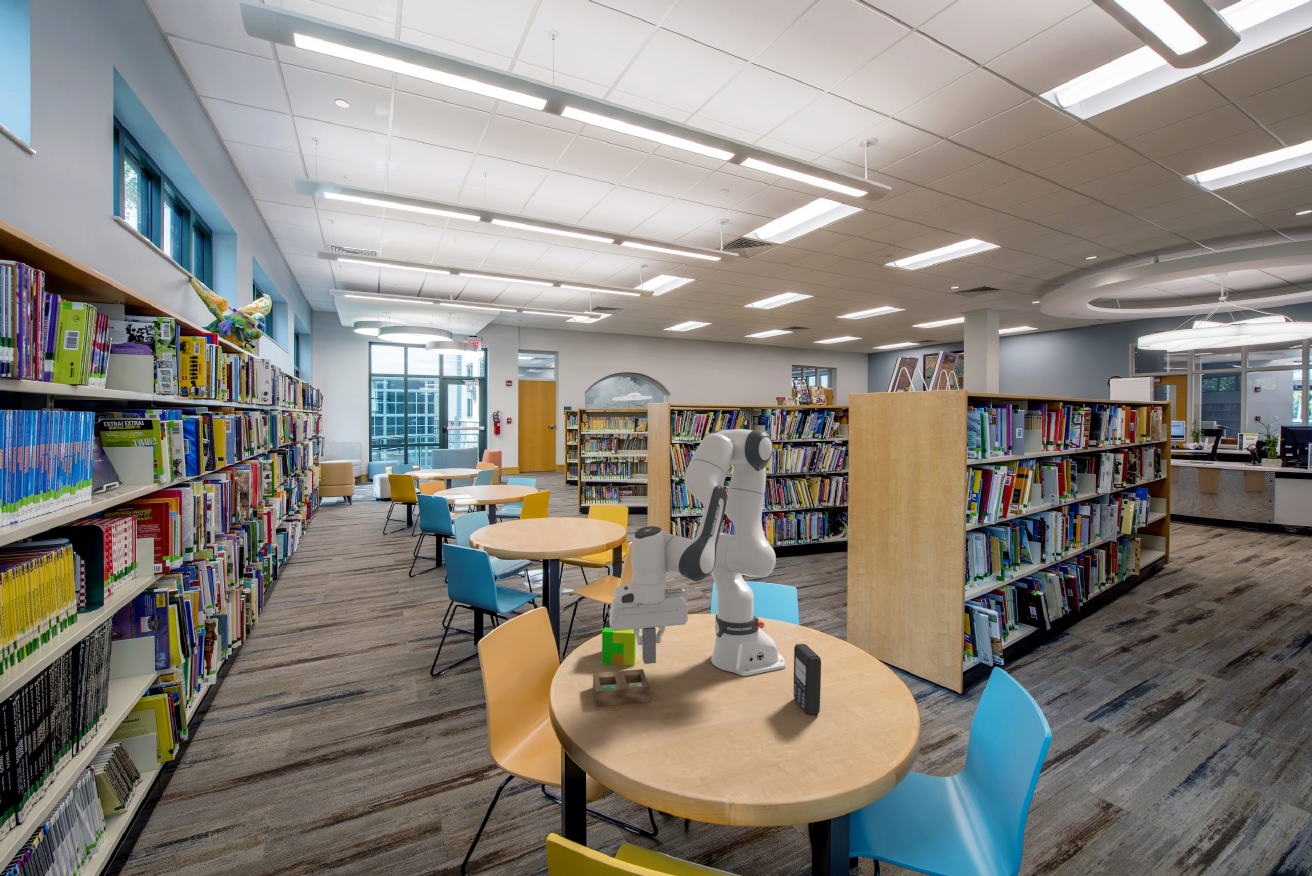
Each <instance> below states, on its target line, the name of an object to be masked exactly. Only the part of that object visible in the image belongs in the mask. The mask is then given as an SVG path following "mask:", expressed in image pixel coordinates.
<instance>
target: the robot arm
mask: <svg viewBox="0 0 1312 876" xmlns="http://www.w3.org/2000/svg"><path fill="white" fill-rule="evenodd" d="M773 445H774V444H773V440H772V438H771V437H770V435H769V433H767V432H765V431H762V430H759V429H758V430H757V429H752V430H751V429H744V428H736V429H716V430H713V431H711V432H710V433H709V434H707V435H706V436H705V437H703V439H702V441H701V442H700V444H699V445H698V446H697V448H696V449H695V451H694V453H693V455H692V457H691V459H690V462H689V464H688V466H687V468H686V471H685V474H684V484H685V487H686V489H687V491H688V492H689V493H690V494H691V495H692V496H693V497H694V498H696V500H698V501H700V503H702V505H703V513H702V516H701V520H700V524H699V527H698V532H697V534H696V535H695V537H694V538H693V539H692V538H687V537H683V536H679V535H676V534H671V533H669V532H666V531H664V530H663V529H662V528H661V527H659V526H654V525H653V526H652V525H650V526H644V527H640V528H639V529H637V530H635V532H634V533H633V536H632V541H631V547H630V548H631V549H630V565H631V568H632V573H631V578H630V582H627V583H625V584H623V585H621V586H617V587H616V588H614V590H613V596H614V599H613V600H612V602H611V604H610V609H609V621H610V627H611V629H612V630H613V631H620V630H631V629H633V631H634V633H635V635H636V637H637V643H638V645H639V646H642V645H643V644H644V637H643V636H642V635H640V630H642V628H653V627H655V628H658V631H657V632H656V644H661V643H662V642H661V641H662V639H661V638H662V636H663V634H664V632H665V631H666V627H670V626H671V627H673V626H674V627H675V626H683V625H686V624H687V622H688V620H689V619H688V618H689V617H688V609H687V603H688V600H689V599H688V592H687V591H686V590H685V589H683V588H681V587H678V588H667V589H666V586H667V585H666V581H667V580H666V573H667V572H669V573H672V574H675V575H679V576H682V577H684V578H687V579H688V580H691V581H692V582H701V581H702V580H704V579H706V578H707V577H708V576H710V574H711V577H712V578H713V582H714V585H715V590H716V614H715V620H714V633H715V638H714V639H715V640H714V646H713V652H712V654H711V657H710V662H711V663H712V665H714V666H715V667H716V668H717V669H720V670H723V671H726V672H730V673H734V674H737V675H740V676H742V677H747V676H753V675H757V674H762V673H767V672H773V671H777V670H783V669H785V668H786V660H785V658H784V657H783V655H782V654H780V653H779V652H778V647H777V644H776V642H775V641H774V640H773V638H772V637H771V636H770V635H768V634H767V632H764V631H763V630H762V629H763V628H765V626H766V624H765V622H764V621H763V620H762V619H759V617H757V616H755V615H754V602H755V601H754V600H755V599H754V597H755V595H754V592H753V590H752V588H751V587H750V586H749V584H747V582H746V581H745V580H744V577H743V576H746V577H751V578H753V577H754V578H765V577H768V576H770V574H771V573H772V572H773V571H774V569H775V567H776V561H777V557H776V556H777V555H776V552H775V550H774V547H772V546H771V544H770V543H769V541H768V540H767V538H766V536H765V533H764V529H763V528H764V527H763V523H762V522H763V519H762V517H763V507H764V500H765V494H766V493H765V492H766V485H767V482H766V481H767V471H766V470H767V468H766V466H767V464H768V463H769V461H771V458H772V456H773V452H774V446H773ZM730 466H732V467H733V471H732V474H731V478H730V482H729V485H728V486H729V487H728V491H726V489H724V486H725V480H726V478H727V475H728V472H729V469H730ZM727 492H728V493H727ZM725 515H726V517H727V518H728V520H729V521H730V522H732V524H733V526H734V530H735V531H734V532H735V535H734V534H730V533H726V532H721V530H722V526H723V522H724V519H725V518H724V517H725ZM742 575H743V576H742ZM638 633H639V634H638Z"/></svg>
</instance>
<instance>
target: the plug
mask: <svg viewBox="0 0 1312 876" xmlns="http://www.w3.org/2000/svg"><path fill="white" fill-rule="evenodd" d="M656 628H657V627H653V628H642V629H641V633H642V634H641V636H643V637H644V644H643V645H641V646H642V647H641V649H642V657H641V658H642V662H643V664H644V665H648V664H651V665H652V664H656V663H657V643H656V634H657V632H656V630H657V629H656Z"/></svg>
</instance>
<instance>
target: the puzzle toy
mask: <svg viewBox="0 0 1312 876" xmlns="http://www.w3.org/2000/svg"><path fill="white" fill-rule="evenodd" d="M609 619H610V618H609ZM609 619H607V622H606V623H605V625H604V627H603V629H602V632H601V665H613V666H614V665H615V666H629V667H631V666H633V667H635V665H636V662H637V658H638V656H639V652H640V645H638V643H637V637H636V635H635V633H634V631H633V629H631V630H620V631H613V630H612V629H611V627H610V621H609ZM638 634H639V635H640V632H639V633H638Z"/></svg>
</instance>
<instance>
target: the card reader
mask: <svg viewBox="0 0 1312 876" xmlns="http://www.w3.org/2000/svg"><path fill="white" fill-rule="evenodd" d="M793 648H794V649H793V698H794V700H795V701H796V703H797V705H799V706H800V707H801V709H802V710H803V711H804V713H806V714H807V715H809V716H815V715H816V716H817V715H818V714H820V709H821V688H822V687H821V686H822V685H821V683H822V680H821V679H822V658H821V657H820V656H819V655H818V654H817V653H816V652H815V651H814V650H813V649H812V648H810V646H809V645H807V644H806V643H797V644H795V645H794V647H793Z"/></svg>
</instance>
